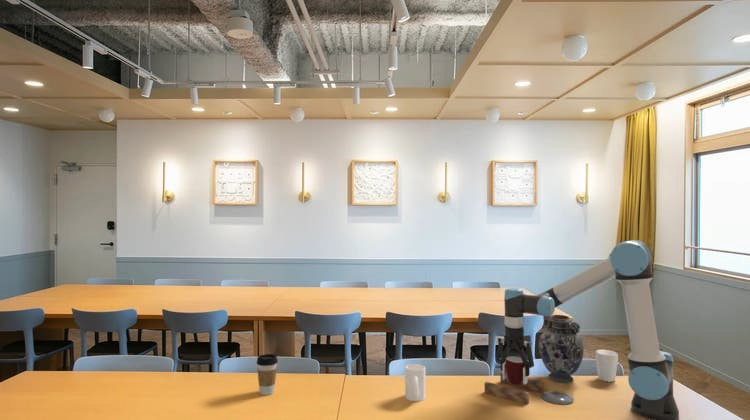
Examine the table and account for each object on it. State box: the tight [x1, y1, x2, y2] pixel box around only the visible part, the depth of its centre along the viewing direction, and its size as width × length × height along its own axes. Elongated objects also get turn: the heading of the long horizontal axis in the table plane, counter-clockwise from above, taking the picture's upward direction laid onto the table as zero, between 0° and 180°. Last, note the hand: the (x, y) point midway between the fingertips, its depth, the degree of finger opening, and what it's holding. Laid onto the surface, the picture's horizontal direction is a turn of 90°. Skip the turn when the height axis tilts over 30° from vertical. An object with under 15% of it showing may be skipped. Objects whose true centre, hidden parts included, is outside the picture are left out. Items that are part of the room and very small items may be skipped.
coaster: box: [541, 390, 575, 406], centre depth 180 cm, size 12×12×1 cm
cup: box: [594, 349, 619, 383], centre depth 202 cm, size 9×9×12 cm
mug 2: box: [505, 355, 525, 386], centre depth 186 cm, size 11×8×10 cm
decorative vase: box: [538, 314, 585, 384], centre depth 202 cm, size 21×19×28 cm
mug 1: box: [404, 363, 426, 402], centre depth 179 cm, size 8×12×12 cm
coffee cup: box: [256, 353, 278, 396], centre depth 185 cm, size 8×8×15 cm
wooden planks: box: [484, 371, 544, 405], centre depth 187 cm, size 18×17×4 cm
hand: (514, 381), depth 187 cm, fingers closed on mug 2, 8 cm apart
